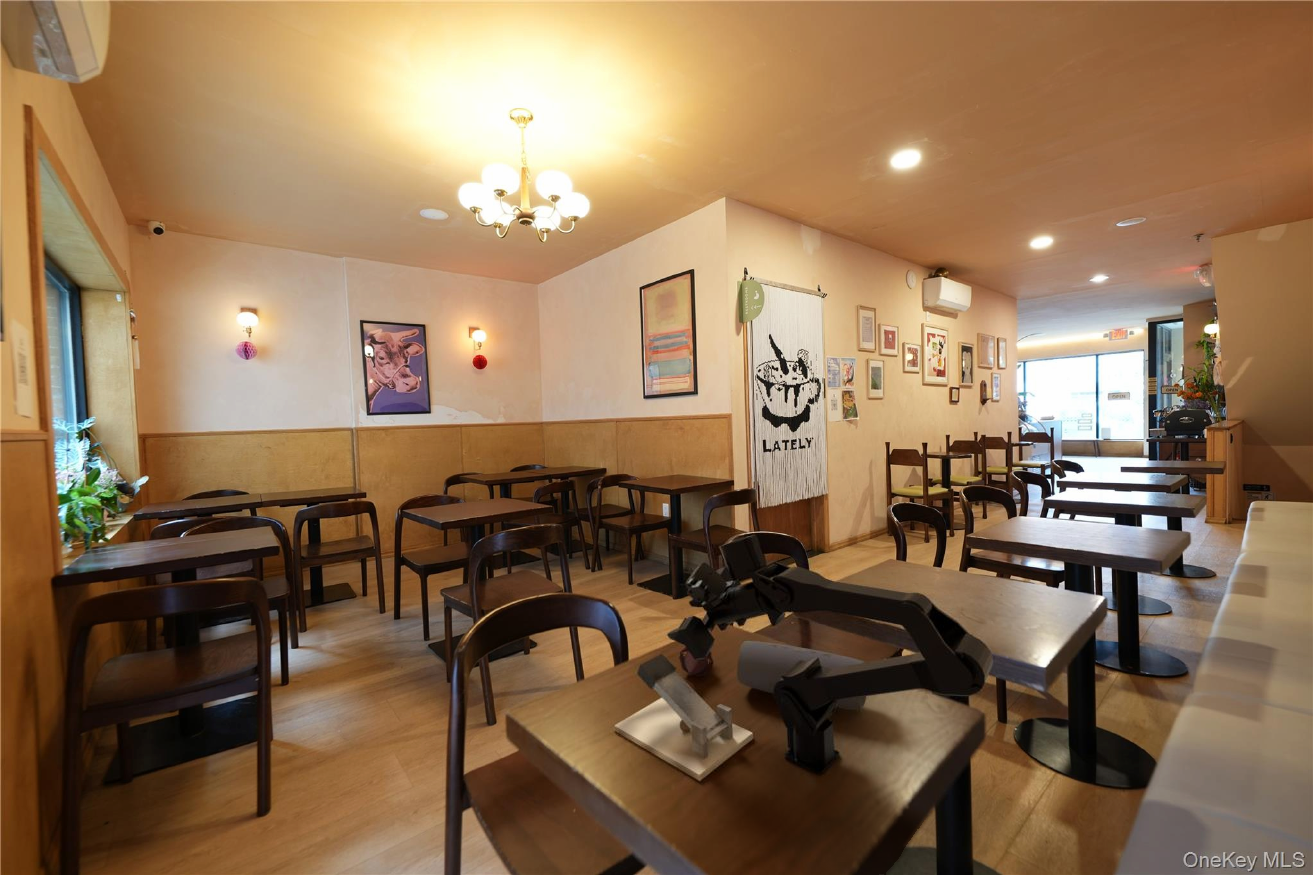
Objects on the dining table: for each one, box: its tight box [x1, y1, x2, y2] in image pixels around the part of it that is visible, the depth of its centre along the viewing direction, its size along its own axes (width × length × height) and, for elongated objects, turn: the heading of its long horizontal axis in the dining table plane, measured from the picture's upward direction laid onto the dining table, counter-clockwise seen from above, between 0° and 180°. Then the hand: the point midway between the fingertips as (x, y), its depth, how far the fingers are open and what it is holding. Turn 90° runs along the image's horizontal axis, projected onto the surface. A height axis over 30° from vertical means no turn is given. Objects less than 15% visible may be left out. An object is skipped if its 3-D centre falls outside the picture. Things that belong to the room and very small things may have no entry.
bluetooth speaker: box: [736, 640, 867, 711], centre depth 104 cm, size 23×9×10 cm, turn 60°
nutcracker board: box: [613, 697, 754, 782], centre depth 95 cm, size 20×14×6 cm
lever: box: [636, 653, 727, 744], centre depth 95 cm, size 17×6×2 cm, turn 46°
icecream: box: [678, 646, 715, 677], centre depth 116 cm, size 7×7×15 cm
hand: (679, 619), depth 103 cm, fingers open, 9 cm apart
